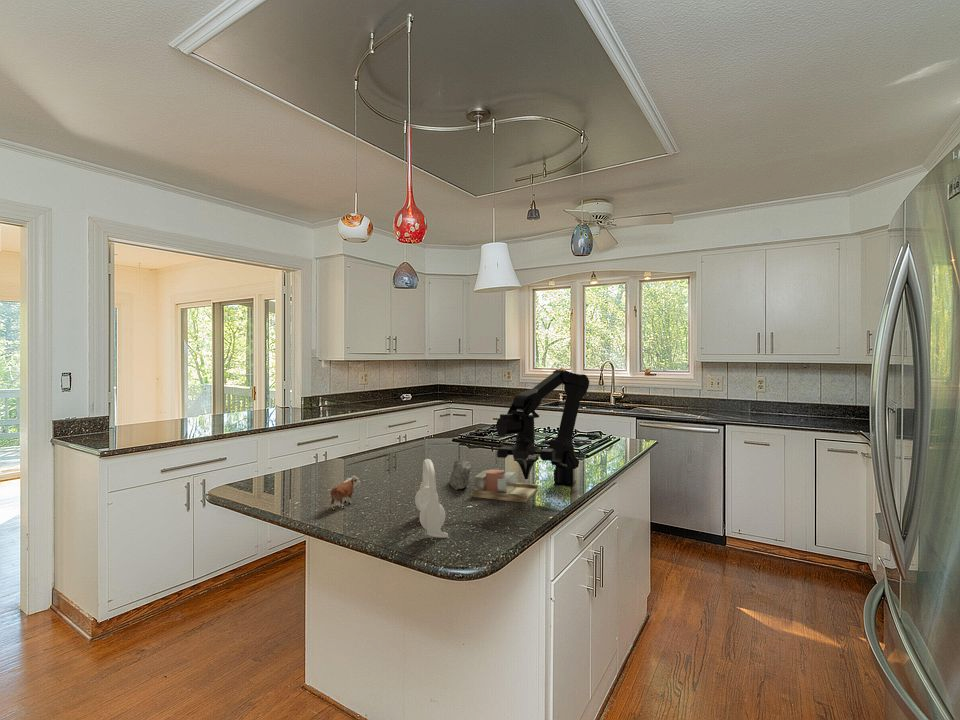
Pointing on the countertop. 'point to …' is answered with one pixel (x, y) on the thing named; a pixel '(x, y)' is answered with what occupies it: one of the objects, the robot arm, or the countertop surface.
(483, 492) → the vise base
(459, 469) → the rock
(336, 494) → the bull figurine
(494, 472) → the block
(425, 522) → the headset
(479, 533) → the countertop surface
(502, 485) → the jaw
